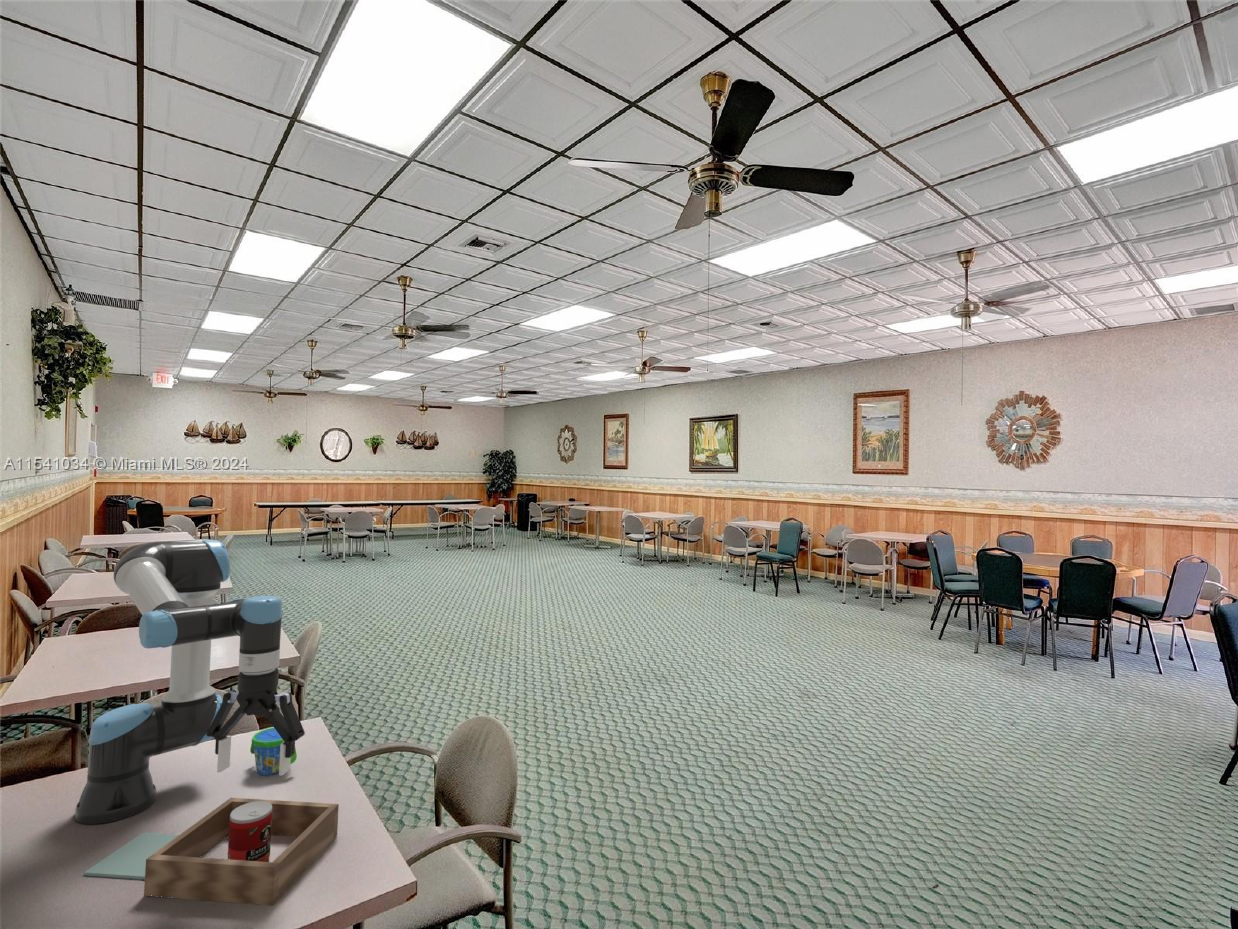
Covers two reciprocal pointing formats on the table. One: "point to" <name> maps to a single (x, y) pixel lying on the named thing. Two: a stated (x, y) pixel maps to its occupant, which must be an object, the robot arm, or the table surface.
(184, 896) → the frame
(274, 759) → the snack cup
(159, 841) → the mat
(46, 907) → the table surface
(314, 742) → the table surface
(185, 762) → the table surface
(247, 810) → the canned food
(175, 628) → the robot arm
